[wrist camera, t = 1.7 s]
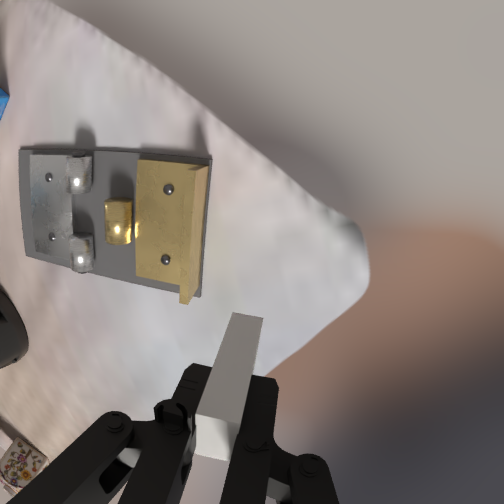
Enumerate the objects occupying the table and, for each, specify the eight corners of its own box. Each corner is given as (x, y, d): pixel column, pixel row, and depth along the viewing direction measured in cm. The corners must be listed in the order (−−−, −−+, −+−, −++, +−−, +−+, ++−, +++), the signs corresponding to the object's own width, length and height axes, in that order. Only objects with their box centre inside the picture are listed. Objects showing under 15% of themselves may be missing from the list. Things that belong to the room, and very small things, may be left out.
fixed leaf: (40, 253, 34) (25, 261, 32) (34, 149, 30) (17, 153, 27) (99, 267, 34) (86, 278, 31) (98, 150, 29) (81, 154, 26)
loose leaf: (115, 267, 33) (96, 283, 30) (115, 156, 29) (92, 161, 25) (199, 285, 32) (187, 304, 29) (209, 165, 28) (196, 170, 24)
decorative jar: (52, 470, 66) (28, 510, 49) (23, 450, 66) (-2, 487, 49) (48, 457, 62) (21, 500, 45) (16, 435, 61) (-12, 475, 45)
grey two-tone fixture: (27, 254, 35) (26, 255, 35) (20, 149, 30) (18, 149, 30) (201, 295, 33) (199, 297, 33) (212, 159, 28) (211, 159, 28)
